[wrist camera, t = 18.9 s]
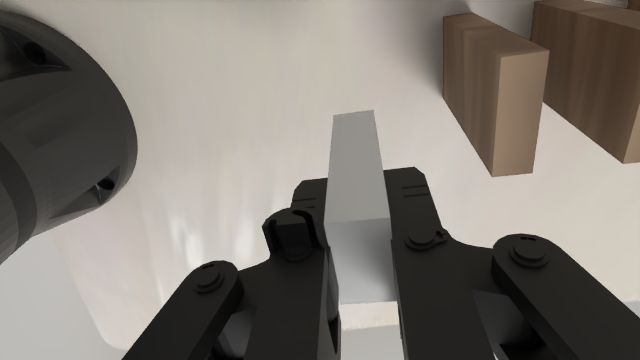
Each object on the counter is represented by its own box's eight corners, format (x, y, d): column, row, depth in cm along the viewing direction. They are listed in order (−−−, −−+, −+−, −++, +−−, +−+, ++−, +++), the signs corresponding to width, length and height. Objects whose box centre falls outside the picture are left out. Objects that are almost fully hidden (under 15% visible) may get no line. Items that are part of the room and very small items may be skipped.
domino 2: (524, 87, 23) (623, 163, 15) (534, 1, 21) (658, 34, 12) (552, 84, 23) (667, 159, 15) (565, -4, 21) (713, 26, 12)
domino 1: (443, 98, 24) (492, 177, 16) (443, 17, 22) (501, 57, 13) (468, 95, 24) (532, 173, 15) (471, 12, 21) (549, 50, 13)
